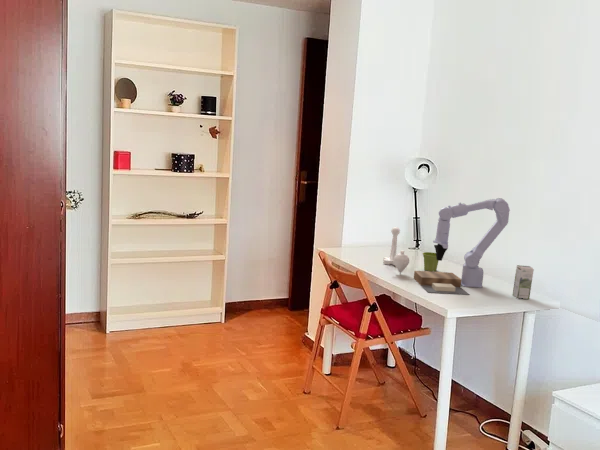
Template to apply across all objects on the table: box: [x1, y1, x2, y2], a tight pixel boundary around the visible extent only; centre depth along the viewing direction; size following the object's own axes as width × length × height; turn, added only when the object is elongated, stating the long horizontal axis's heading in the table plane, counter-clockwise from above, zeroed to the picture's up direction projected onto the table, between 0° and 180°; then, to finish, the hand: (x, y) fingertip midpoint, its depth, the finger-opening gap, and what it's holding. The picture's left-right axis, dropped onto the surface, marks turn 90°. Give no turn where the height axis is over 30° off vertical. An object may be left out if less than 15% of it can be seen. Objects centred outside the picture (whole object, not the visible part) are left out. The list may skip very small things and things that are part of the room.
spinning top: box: [394, 250, 410, 275], centre depth 308 cm, size 8×8×12 cm
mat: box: [420, 285, 470, 296], centre depth 285 cm, size 19×12×1 cm, turn 95°
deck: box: [413, 270, 462, 288], centre depth 297 cm, size 19×13×4 cm
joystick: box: [382, 226, 401, 267], centre depth 330 cm, size 11×8×20 cm
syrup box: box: [512, 264, 535, 300], centre depth 281 cm, size 6×6×14 cm
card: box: [432, 283, 456, 292], centre depth 285 cm, size 9×6×2 cm, turn 95°
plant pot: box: [422, 251, 440, 272], centre depth 323 cm, size 9×9×9 cm
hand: (439, 260), depth 299 cm, fingers closed
